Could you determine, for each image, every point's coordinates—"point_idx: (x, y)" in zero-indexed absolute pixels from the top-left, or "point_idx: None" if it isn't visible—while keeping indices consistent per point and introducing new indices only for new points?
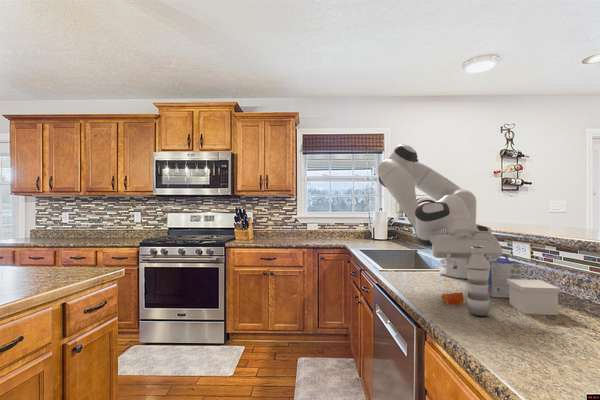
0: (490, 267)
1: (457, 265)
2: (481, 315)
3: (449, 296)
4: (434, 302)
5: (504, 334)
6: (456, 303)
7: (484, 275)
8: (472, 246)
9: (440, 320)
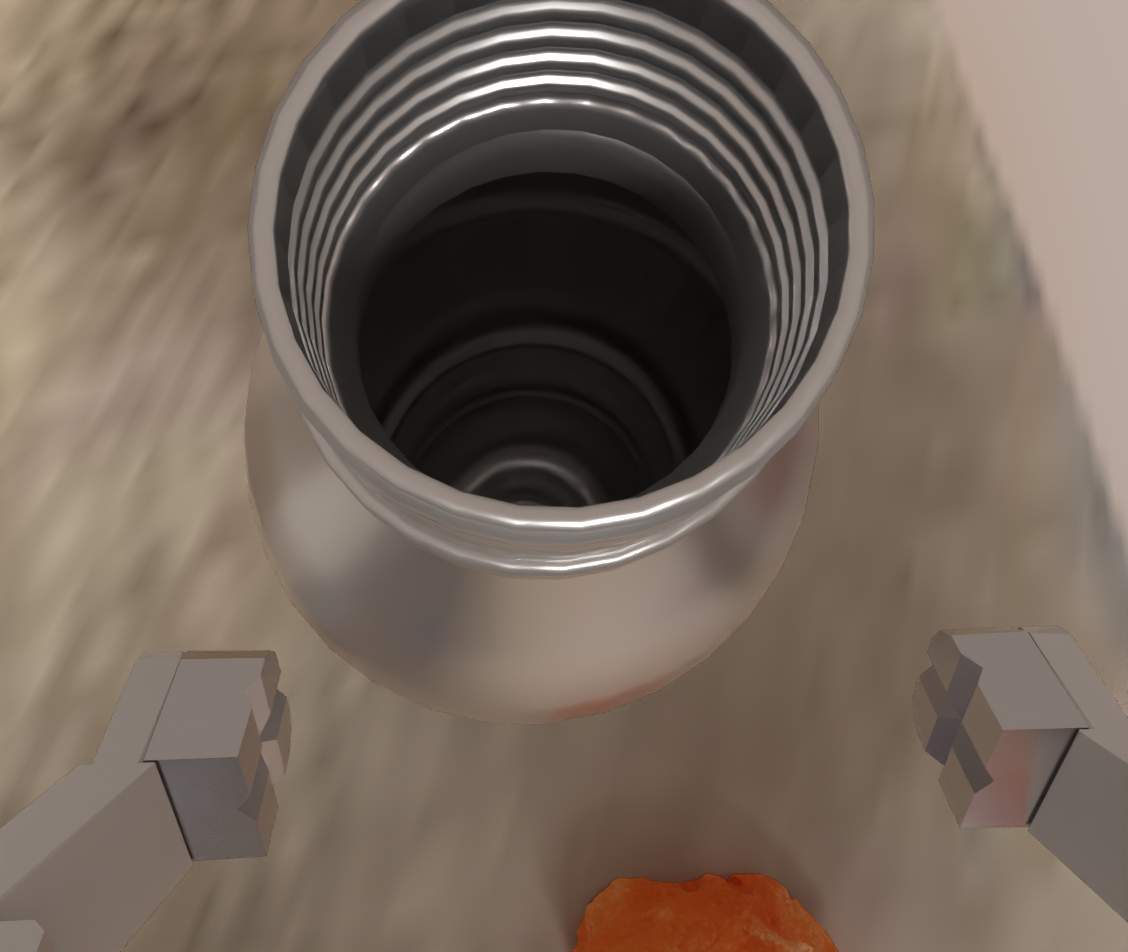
0: (161, 658)
1: (951, 631)
2: (525, 434)
3: (772, 935)
4: (925, 915)
5: None
6: (672, 886)
7: (469, 272)
8: (730, 463)
9: (945, 296)
